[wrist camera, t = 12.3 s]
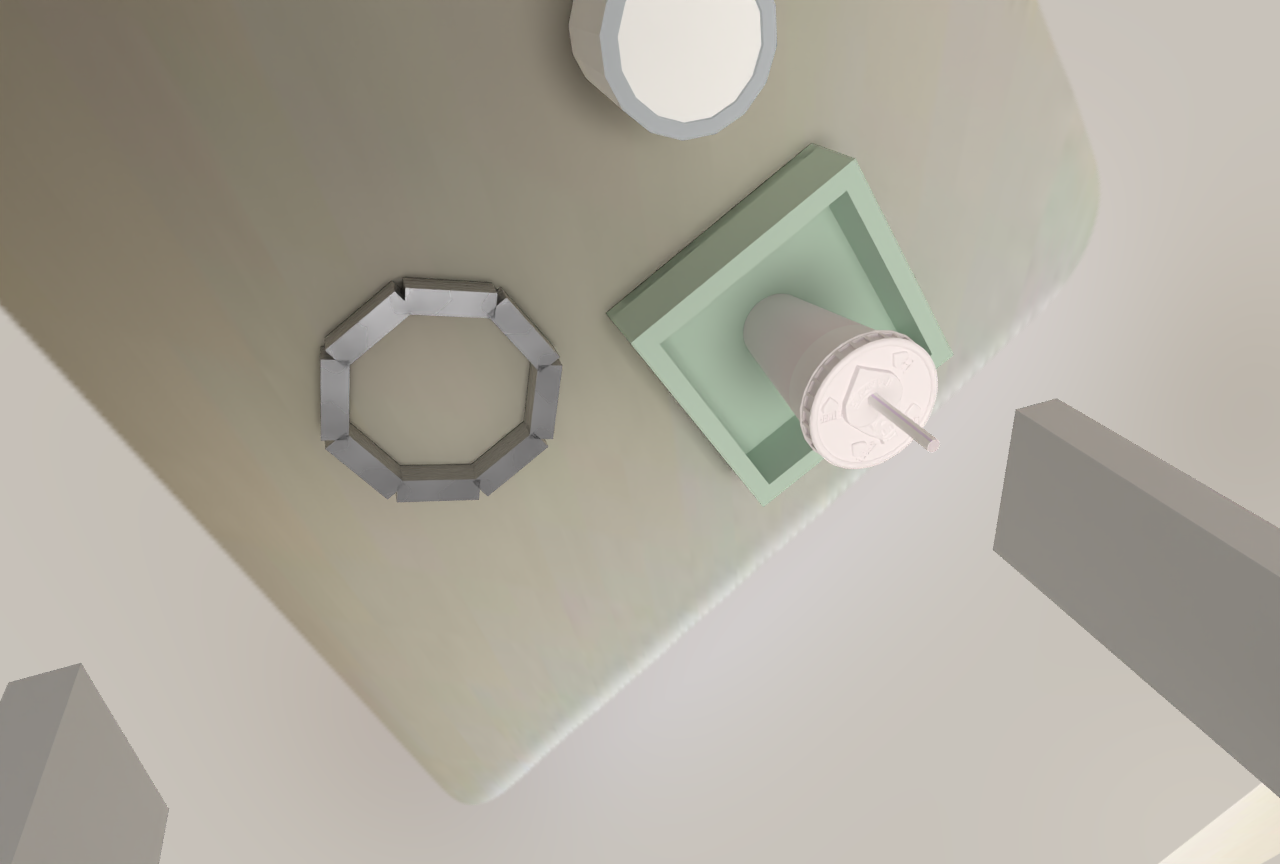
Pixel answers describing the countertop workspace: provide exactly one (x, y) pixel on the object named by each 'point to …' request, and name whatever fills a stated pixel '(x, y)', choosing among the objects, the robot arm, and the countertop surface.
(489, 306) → the collar
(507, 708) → the countertop surface
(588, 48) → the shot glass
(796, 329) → the smoothie
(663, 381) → the bin
